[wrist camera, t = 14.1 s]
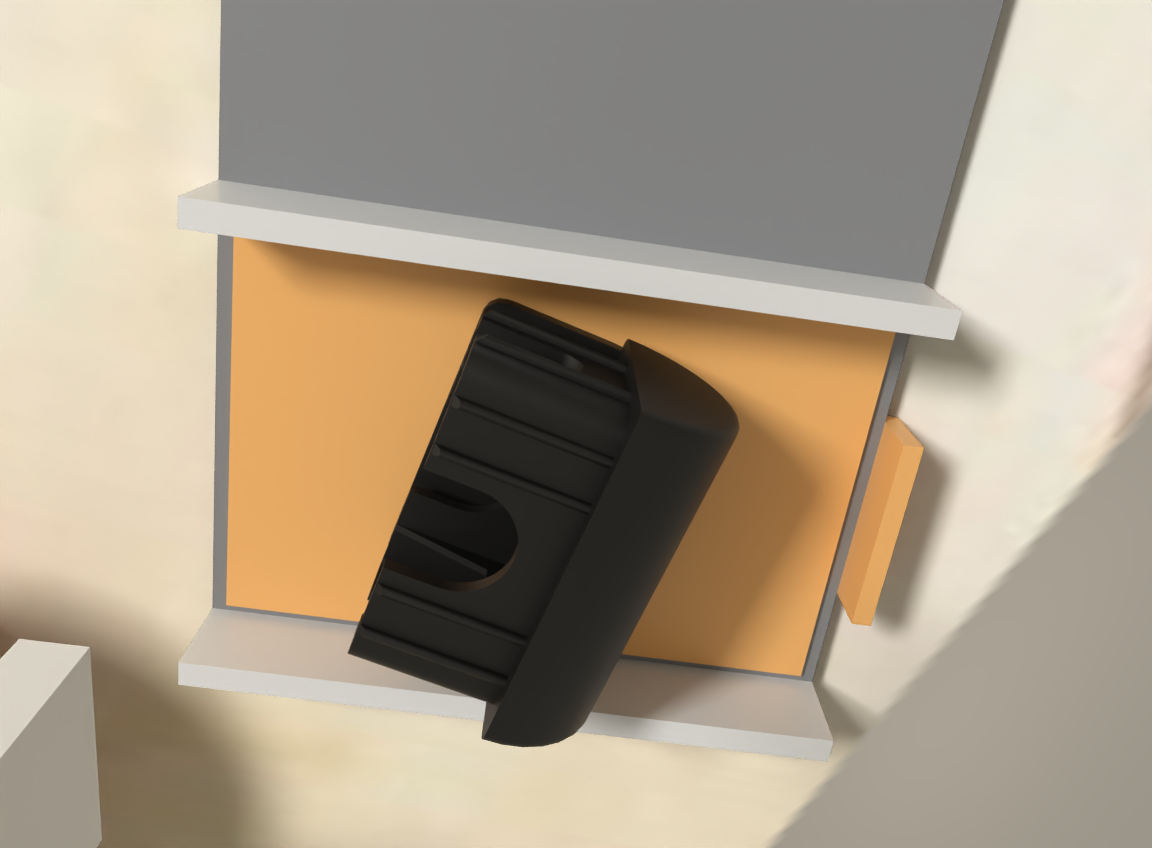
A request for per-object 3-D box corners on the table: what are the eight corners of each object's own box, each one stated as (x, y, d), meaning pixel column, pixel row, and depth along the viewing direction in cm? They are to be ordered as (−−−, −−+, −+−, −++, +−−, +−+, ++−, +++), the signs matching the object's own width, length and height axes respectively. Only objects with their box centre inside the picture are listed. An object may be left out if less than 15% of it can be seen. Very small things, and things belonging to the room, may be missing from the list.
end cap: (585, 635, 32) (589, 781, 26) (380, 560, 31) (332, 693, 25) (722, 369, 29) (763, 461, 23) (497, 274, 28) (474, 345, 22)
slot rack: (1096, -275, 24) (1182, -325, 20) (819, 692, 34) (846, 764, 31) (235, -432, 23) (177, -512, 19) (218, 618, 33) (178, 684, 30)
